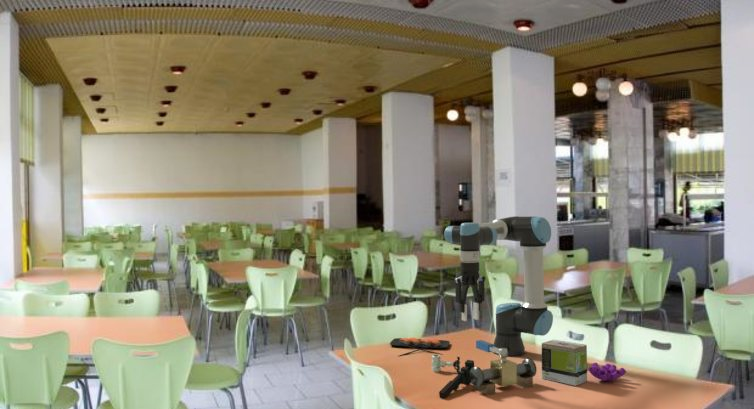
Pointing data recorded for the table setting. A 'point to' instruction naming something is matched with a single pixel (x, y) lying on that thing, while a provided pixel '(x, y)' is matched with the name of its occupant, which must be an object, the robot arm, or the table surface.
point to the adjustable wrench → (458, 379)
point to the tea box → (564, 362)
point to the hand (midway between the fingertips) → (470, 319)
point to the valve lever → (491, 348)
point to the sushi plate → (420, 344)
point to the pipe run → (503, 375)
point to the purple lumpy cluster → (606, 372)
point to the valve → (443, 363)
